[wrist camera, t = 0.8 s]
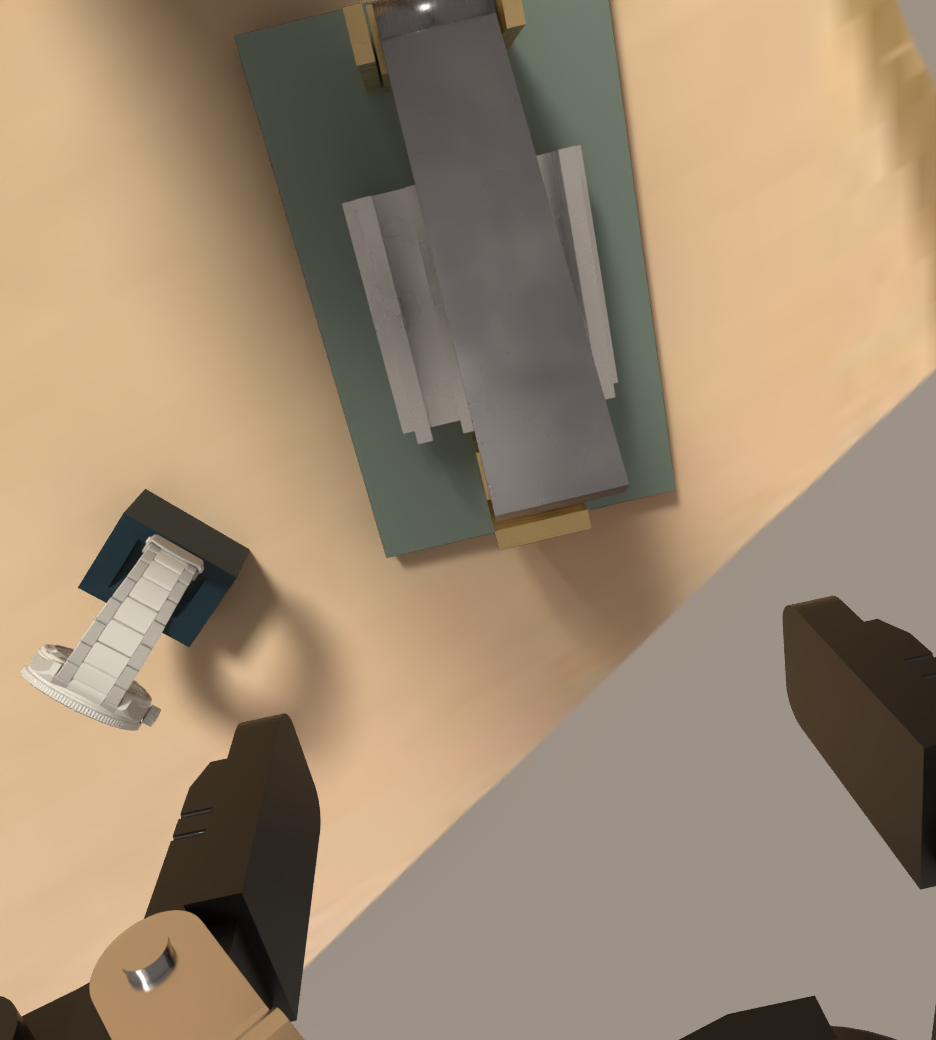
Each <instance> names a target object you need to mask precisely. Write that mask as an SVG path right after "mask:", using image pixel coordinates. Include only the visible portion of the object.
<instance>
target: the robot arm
mask: <svg viewBox="0 0 936 1040" xmlns="http://www.w3.org/2000/svg"><path fill="white" fill-rule="evenodd" d="M783 635H784V653H785V670H786V687H787V693H788V698H789V702H790V705H791V708H792V711H793V713H794V715H795V718H796V720H797V722H798V723H799V725H800V726H801V728H802V729H803V731H804V732H805V733H806V735H807V736H808V737H809V739H810V740H811V742H812V743H813V744H814V746H815V747H816V748H817V750H818V751H819V752H820V754H821V755H822V757H823V758H824V759H825V761H826V762H827V763H828V765H829V766H830V767H831V769H832V770H833V771H834V773H835V774H836V775H837V777H838V778H839V780H840V781H841V782H842V784H843V785H844V786H845V788H846V789H847V791H848V792H849V793H850V795H851V796H852V797H853V799H854V800H855V801H856V803H857V804H858V805H859V807H860V808H861V809H862V811H863V812H864V814H865V815H866V816H867V817H868V819H869V820H870V822H871V823H872V825H873V826H874V827H875V829H876V830H877V831H878V832H879V834H880V835H881V837H882V838H883V839H884V841H885V842H886V844H887V845H888V846H889V847H890V849H891V850H892V852H893V853H894V854H895V856H896V857H897V858H898V860H899V861H900V862H901V864H902V865H903V867H904V868H905V869H906V871H907V872H908V874H909V875H910V876H911V877H912V879H913V880H914V881H915V883H916V884H917V886H918V887H919V888H920V889H925V888H929V887H934V886H936V657H935V658H934V657H933V654H932V652H931V651H929V650H928V649H927V648H926V647H925V646H924V645H923V644H922V643H920V642H919V641H918V640H917V639H916V638H915V637H914V636H913V635H911V634H910V633H908V632H906V631H904V630H901V629H899V628H897V627H895V626H892V625H890V624H888V623H886V622H883V621H881V620H879V619H875V620H870V621H866V622H864V621H862V620H861V619H860V618H859V617H858V616H857V615H856V614H855V613H854V612H853V611H852V610H851V609H850V608H849V607H848V606H847V605H846V604H845V603H843V602H842V601H841V600H840V599H839V598H838V597H836V596H829V597H825V598H820V599H815V600H811V601H807V602H802V603H797V604H792V605H788V606H786V607H785V609H784V611H783ZM319 835H320V807H319V801H318V796H317V791H316V788H315V785H314V782H313V779H312V776H311V773H310V771H309V768H308V765H307V762H306V759H305V757H304V754H303V751H302V748H301V745H300V742H299V740H298V737H297V734H296V731H295V728H294V726H293V723H292V721H291V719H290V717H289V716H288V715H287V714H280V715H275V716H270V717H266V718H261V719H257V720H252V721H247V722H243V723H240V724H238V726H237V728H236V731H235V734H234V738H233V741H232V744H231V748H230V751H229V754H228V758H227V759H222V760H218V761H213V762H210V763H209V765H208V766H207V767H206V768H205V769H204V771H203V772H202V773H201V774H200V776H199V777H198V778H197V779H196V781H195V782H194V783H193V784H192V785H191V787H190V788H189V791H188V794H187V797H186V800H185V802H184V805H183V808H182V811H181V819H179V820H178V823H177V825H176V828H175V831H174V834H173V839H174V840H173V841H171V843H170V846H169V848H168V851H167V854H166V857H165V860H164V863H163V866H162V869H161V871H160V874H159V877H158V880H157V883H156V886H155V889H154V892H153V894H152V897H151V900H150V903H149V906H148V909H147V912H146V915H145V917H144V919H143V920H141V921H139V922H137V923H136V924H134V925H133V926H131V927H129V928H128V929H127V930H126V931H124V932H123V933H122V934H120V935H119V936H118V937H117V938H116V939H115V940H114V941H113V942H112V943H111V944H110V945H109V946H108V948H107V949H106V950H105V951H104V953H103V954H102V956H101V957H100V958H99V960H98V962H97V964H96V966H95V968H94V970H93V973H92V976H91V980H90V982H89V983H88V984H86V985H84V986H82V987H80V988H78V989H77V990H75V991H73V992H71V993H69V994H67V995H64V996H62V997H60V998H58V999H56V1000H54V1001H52V1002H50V1003H48V1004H46V1005H44V1006H42V1007H40V1008H38V1009H36V1010H34V1011H32V1012H30V1013H28V1014H26V1015H24V1016H22V1017H21V1015H20V1014H19V1012H18V1010H17V1009H16V1007H15V1006H14V1004H13V1003H12V1002H11V1001H10V1000H9V999H7V998H5V997H1V996H0V1040H304V1039H303V1037H302V1036H301V1035H300V1033H299V1032H298V1031H297V1030H296V1028H295V1027H294V1026H293V1024H292V1023H291V1021H296V1020H297V1013H298V1004H299V996H300V988H301V980H302V972H303V964H304V956H305V948H306V940H307V932H308V924H309V916H310V907H311V899H312V891H313V883H314V875H315V867H316V859H317V851H318V843H319ZM680 1040H896V1039H893V1038H891V1037H887V1036H883V1035H879V1034H876V1033H873V1032H869V1031H865V1030H859V1029H853V1028H847V1027H837V1026H830V1025H829V1023H828V1021H827V1019H826V1017H825V1015H824V1013H823V1011H822V1009H821V1007H820V1005H819V1003H818V1001H817V1000H816V997H815V996H811V997H806V998H801V999H797V1000H792V1001H787V1002H783V1003H778V1004H773V1005H769V1006H764V1007H759V1008H754V1009H750V1010H745V1011H740V1012H736V1013H731V1014H727V1015H725V1016H723V1017H721V1018H720V1019H718V1020H716V1021H714V1022H712V1023H710V1024H708V1025H706V1026H704V1027H702V1028H700V1029H699V1030H697V1031H695V1032H693V1033H691V1034H689V1035H687V1036H685V1037H683V1038H681V1039H680ZM931 1040H936V1007H935V1014H934V1022H933V1030H932V1038H931Z"/></svg>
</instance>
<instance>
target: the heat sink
mask: <svg viewBox="0 0 936 1040" xmlns="http://www.w3.org/2000/svg"><path fill="white" fill-rule="evenodd" d="M536 157H537V160H538V164H539V167H540V171H541V174H542V178H543V181H544V185H545V189H546V192H547V196H548V199H549V203H550V206H551V210H552V213H553V217H554V220H555V224H556V227H557V231H558V235H559V238H560V242H561V245H562V249H563V252H564V256H565V259H566V263H567V266H568V270H569V273H570V277H571V281H572V284H573V288H574V291H575V295H576V298H577V302H578V305H579V309H580V312H581V316H582V319H583V323H584V327H585V330H586V334H587V337H588V341H589V344H590V348H591V351H592V355H593V358H594V362H595V365H596V369H597V373H598V376H599V380H600V383H601V387H602V390H603V394H604V397H605V399H610V398H614V397H615V392H614V385H613V384H614V383H618V379H617V372H616V366H615V360H614V353H613V347H612V341H611V334H610V328H609V321H608V315H607V309H606V302H605V296H604V290H603V283H602V277H601V270H600V264H599V258H598V251H597V245H596V239H595V232H594V226H593V219H592V213H591V207H590V200H589V194H588V188H587V181H586V175H585V168H584V162H583V156H582V149H581V145H579V146H572V147H568V148H563V149H559V150H556V151H553V152H550V153H546V154H542V155H538V156H536ZM342 206H343V210H344V213H345V217H346V221H347V225H348V229H349V232H350V236H351V240H352V244H353V247H354V251H355V255H356V259H357V262H358V266H359V270H360V274H361V277H362V281H363V285H364V289H365V292H366V296H367V300H368V304H369V307H370V311H371V315H372V319H373V322H374V326H375V330H376V334H377V337H378V341H379V345H380V349H381V353H382V356H383V360H384V364H385V368H386V371H387V375H388V379H389V383H390V386H391V390H392V394H393V398H394V401H395V405H396V409H397V413H398V416H399V420H400V424H401V428H402V431H403V434H405V433H409V432H413V431H415V434H416V438H417V442H418V444H421V443H425V442H430V441H433V434H432V427H434V426H438V425H442V424H447V423H451V422H455V421H459V420H460V421H461V425H462V430H463V433H467V432H471V431H474V428H473V424H472V420H471V415H470V411H469V407H468V403H467V399H466V395H465V391H464V386H463V382H462V378H461V374H460V370H459V366H458V361H457V357H456V353H455V349H454V345H453V341H452V337H451V332H450V328H449V324H448V320H447V316H446V312H445V307H444V303H443V299H442V295H441V291H440V287H439V283H438V278H437V274H436V270H435V266H434V262H433V258H432V253H431V249H430V245H429V241H428V237H427V233H426V229H425V224H424V220H423V216H422V212H421V208H420V204H419V199H418V195H417V191H416V187H415V185H412V186H408V187H405V188H403V189H399V190H395V191H391V192H387V193H383V194H378V195H374V196H368V197H363V198H359V199H355V200H354V201H350V202H346V203H342Z"/></svg>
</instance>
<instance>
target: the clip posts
mask: <svg viewBox="0 0 936 1040" xmlns="http://www.w3.org/2000/svg"><path fill="white" fill-rule="evenodd" d="M494 5H495V11H496V15H497V19H498V22H499V26H500V29H501V33H502V36H503V40H504V44H505V47H506V51H508V49H509V48H510V46H511V45H512V43H513V42H514V41H515V39H516V38H517V36H518V35H519V33H520V32H521V30H522V29H523V27H524V26H525V24H526V22H525V16H524V10H523V4H522V0H494ZM342 8H343V12H344V16H345V20H346V24H347V28H348V32H349V36H350V40H351V45H352V49H353V53H354V57H355V61H356V65H357V68H358V71H359V73H360V76H361V79H362V81H363V84H364V86H365V89H366V91H368V90H372V89H376V88H381V83H380V79H379V75H378V70H377V66H376V61H375V57H374V53H373V49H372V45H371V40H370V36H369V32H368V28H367V23H366V19H365V15H364V11H363V6H362V3H358V4H354V5H350V6H346V7H342ZM366 11H367V15H368V20H369V25H370V29H371V34H372V38H373V42H374V47H375V51H376V55H377V59H378V64H379V68H380V72H381V76H382V81H383V85H384V89H385V92H389V91H392V87H391V83H390V79H389V75H388V71H387V66H386V62H385V59H384V55H383V51H382V46H381V42H380V38H379V34H378V29H377V25H376V21H375V16H374V12H373V7H372V4H371V5H367V6H366ZM470 435H471V439H472V443H473V448H474V452H475V456H476V460H477V464H478V468H479V473H480V478H481V482H482V486H483V490H484V494H485V498H486V502H487V506H488V509H489V513H490V517H491V521H492V525H493V528H494V532H495V536H496V540H497V544H498V547H499V550H502V549H506V548H511V547H515V546H519V545H523V544H528V543H532V542H536V541H540V540H544V539H549V538H553V537H557V536H561V535H566V534H570V533H574V532H578V531H583V530H587V529H591V523H590V518H589V512H588V508H587V507H586V505H585V503H584V502H581V503H577V504H573V505H568V506H564V507H560V508H556V509H552V510H547V511H543V512H539V513H535V514H530V515H526V516H522V517H518V518H514V519H509V520H505V521H501V522H497V523H496V519H495V515H494V511H493V507H492V503H491V499H490V494H489V490H488V486H487V482H486V478H485V474H484V469H483V465H482V461H481V457H480V453H479V449H478V445H477V440H476V436H475V432H474V431H471V432H470Z"/></svg>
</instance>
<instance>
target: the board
mask: <svg viewBox="0 0 936 1040" xmlns="http://www.w3.org/2000/svg"><path fill="white" fill-rule="evenodd" d="M377 1H380V0H377ZM373 2H376V1H373ZM371 4H372V2H369V3H365V4H362V6H363V11H364V15H365V19H366V23H367V28H368V32H369V36H370V40H371V45H372V49H373V53H374V57H375V61H376V66H377V70H378V75H379V79H380V83H381V88H376V89H372V90H368V91H366V89H365V86H364V84H363V81H362V79H361V76H360V73H359V71H358V68H357V65H356V61H355V57H354V53H353V49H352V45H351V40H350V36H349V32H348V28H347V24H346V20H345V16H344V12H343V9H341V10H337V11H333V12H329V13H325V14H321V15H317V16H313V17H309V18H305V19H301V20H297V21H293V22H289V23H285V24H281V25H277V26H273V27H269V28H265V29H261V30H257V31H253V32H249V33H245V34H241V35H237V36H234V38H235V41H236V45H237V48H238V52H239V55H240V58H241V62H242V65H243V69H244V72H245V76H246V79H247V82H248V86H249V89H250V93H251V96H252V99H253V103H254V106H255V110H256V113H257V117H258V120H259V123H260V127H261V130H262V134H263V137H264V141H265V144H266V147H267V151H268V154H269V158H270V161H271V165H272V168H273V171H274V175H275V178H276V182H277V185H278V188H279V192H280V195H281V199H282V202H283V206H284V209H285V212H286V216H287V219H288V223H289V226H290V230H291V233H292V236H293V240H294V243H295V247H296V250H297V254H298V257H299V260H300V264H301V267H302V271H303V274H304V277H305V281H306V284H307V288H308V291H309V295H310V298H311V301H312V305H313V308H314V312H315V315H316V319H317V322H318V325H319V329H320V332H321V336H322V339H323V343H324V346H325V349H326V353H327V356H328V360H329V363H330V366H331V370H332V373H333V377H334V380H335V384H336V387H337V390H338V394H339V397H340V401H341V404H342V408H343V411H344V414H345V418H346V421H347V425H348V428H349V432H350V435H351V438H352V442H353V445H354V449H355V452H356V455H357V459H358V462H359V466H360V469H361V473H362V476H363V479H364V483H365V486H366V490H367V493H368V497H369V500H370V503H371V507H372V510H373V514H374V517H375V521H376V524H377V527H378V531H379V534H380V538H381V541H382V544H383V548H384V551H385V555H386V558H389V557H394V556H398V555H402V554H406V553H410V552H415V551H419V550H423V549H427V548H432V547H436V546H440V545H444V544H448V543H453V542H457V541H461V540H465V539H470V538H474V537H478V536H482V535H487V534H491V533H495V532H494V528H493V525H492V521H491V517H490V513H489V509H488V506H487V502H486V498H485V494H484V490H483V486H482V482H481V478H480V473H479V468H478V464H477V460H476V456H475V452H474V448H473V443H472V439H471V435H470V432H467V433H463V430H462V425H461V421H460V420H459V421H455V422H451V423H447V424H442V425H438V426H434V427H432V434H433V441H430V442H425V443H421V444H418V442H417V438H416V434H415V431H413V432H409V433H405V434H403V431H402V428H401V424H400V420H399V416H398V413H397V409H396V405H395V401H394V398H393V394H392V390H391V386H390V383H389V379H388V375H387V371H386V368H385V364H384V360H383V356H382V353H381V349H380V345H379V341H378V337H377V334H376V330H375V326H374V322H373V319H372V315H371V311H370V307H369V304H368V300H367V296H366V292H365V289H364V285H363V281H362V277H361V274H360V270H359V266H358V262H357V259H356V255H355V251H354V247H353V244H352V240H351V236H350V232H349V229H348V225H347V221H346V217H345V213H344V210H343V206H342V203H346V202H350V201H354V200H355V199H359V198H363V197H368V196H374V195H378V194H383V193H387V192H391V191H395V190H399V189H403V188H405V187H408V186H412V185H415V183H414V179H413V174H412V170H411V166H410V162H409V158H408V154H407V150H406V145H405V141H404V137H403V133H402V129H401V125H400V120H399V116H398V112H397V108H396V104H395V100H394V96H393V91H389V92H385V89H384V85H383V81H382V76H381V72H380V68H379V64H378V59H377V55H376V51H375V47H374V42H373V38H372V34H371V29H370V25H369V20H368V15H367V11H366V6H367V5H371ZM522 4H523V10H524V16H525V22H526V24H525V26H524V27H523V29H522V30H521V32H520V33H519V35H518V36H517V38H516V39H515V41H514V42H513V43H512V45H511V46H510V48H509V49H508V51H507V54H508V58H509V61H510V65H511V68H512V72H513V75H514V79H515V82H516V86H517V89H518V93H519V97H520V100H521V104H522V107H523V111H524V114H525V118H526V121H527V125H528V128H529V132H530V135H531V139H532V143H533V146H534V150H535V153H536V156H538V155H542V154H546V153H550V152H553V151H556V150H559V149H563V148H568V147H572V146H579V145H581V149H582V156H583V162H584V168H585V175H586V181H587V188H588V194H589V200H590V207H591V213H592V219H593V226H594V232H595V239H596V245H597V251H598V258H599V264H600V270H601V277H602V283H603V290H604V296H605V302H606V309H607V315H608V321H609V328H610V334H611V341H612V347H613V353H614V360H615V366H616V372H617V379H618V383H614V384H613V385H614V392H615V397H614V398H610V399H605V401H606V404H607V408H608V411H609V415H610V418H611V422H612V426H613V429H614V433H615V436H616V440H617V443H618V447H619V450H620V454H621V457H622V461H623V464H624V468H625V472H626V475H627V479H628V482H629V486H628V488H627V490H626V492H623V493H619V494H615V495H611V496H606V497H602V498H598V499H594V500H590V501H585V502H584V503H585V505H586V507H587V508H588V510H592V509H596V508H601V507H605V506H609V505H613V504H618V503H622V502H626V501H630V500H634V499H639V498H643V497H647V496H651V495H656V494H660V493H664V492H668V491H672V490H675V483H674V476H673V468H672V461H671V454H670V446H669V439H668V432H667V424H666V417H665V410H664V402H663V395H662V388H661V380H660V373H659V366H658V358H657V351H656V344H655V336H654V329H653V322H652V314H651V307H650V300H649V292H648V285H647V278H646V270H645V263H644V256H643V248H642V241H641V234H640V226H639V219H638V212H637V204H636V197H635V190H634V182H633V175H632V168H631V160H630V153H629V146H628V138H627V131H626V124H625V116H624V109H623V102H622V94H621V87H620V80H619V72H618V65H617V58H616V50H615V43H614V36H613V29H612V21H611V14H610V7H609V0H522Z"/></svg>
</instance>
